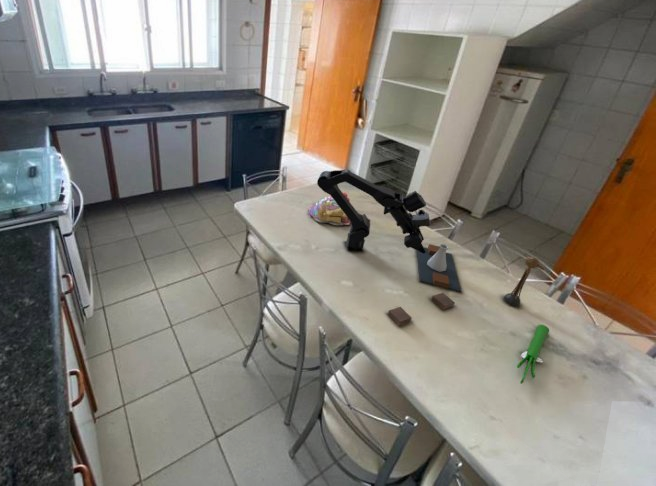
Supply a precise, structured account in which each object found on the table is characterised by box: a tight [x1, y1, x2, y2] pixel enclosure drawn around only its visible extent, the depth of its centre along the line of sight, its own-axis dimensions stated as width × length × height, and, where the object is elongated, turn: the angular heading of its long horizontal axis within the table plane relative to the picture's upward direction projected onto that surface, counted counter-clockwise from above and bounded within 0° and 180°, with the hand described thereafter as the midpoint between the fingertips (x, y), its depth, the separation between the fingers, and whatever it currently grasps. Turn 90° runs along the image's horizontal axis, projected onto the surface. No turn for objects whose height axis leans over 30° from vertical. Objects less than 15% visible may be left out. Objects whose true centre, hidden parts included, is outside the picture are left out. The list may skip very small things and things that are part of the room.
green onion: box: [516, 323, 550, 385], centre depth 98 cm, size 5×3×30 cm
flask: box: [427, 243, 449, 272], centre depth 132 cm, size 7×7×10 cm
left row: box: [387, 292, 455, 327], centre depth 113 cm, size 5×25×2 cm, turn 112°
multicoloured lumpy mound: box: [308, 191, 351, 226], centre depth 167 cm, size 25×24×9 cm
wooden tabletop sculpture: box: [503, 256, 546, 308], centre depth 114 cm, size 6×5×20 cm
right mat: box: [416, 243, 462, 293], centre depth 133 cm, size 14×25×3 cm, turn 159°
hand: (423, 246), depth 132 cm, fingers open, 9 cm apart
